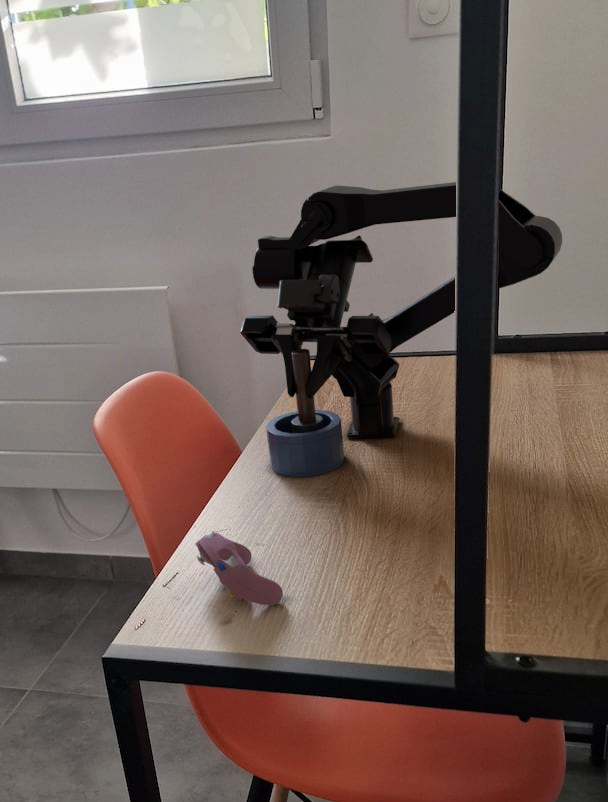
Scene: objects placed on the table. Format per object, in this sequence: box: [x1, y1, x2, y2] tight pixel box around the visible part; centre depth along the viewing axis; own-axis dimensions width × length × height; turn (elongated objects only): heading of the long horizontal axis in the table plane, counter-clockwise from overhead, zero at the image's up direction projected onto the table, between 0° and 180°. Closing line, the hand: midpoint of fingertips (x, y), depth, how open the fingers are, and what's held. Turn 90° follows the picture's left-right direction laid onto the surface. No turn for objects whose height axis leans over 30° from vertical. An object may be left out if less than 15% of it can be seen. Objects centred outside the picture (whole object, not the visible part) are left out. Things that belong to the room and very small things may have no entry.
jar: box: [265, 409, 345, 478], centre depth 106 cm, size 9×9×6 cm
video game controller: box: [195, 530, 284, 606], centre depth 79 cm, size 10×5×7 cm, turn 21°
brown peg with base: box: [292, 348, 324, 433], centre depth 104 cm, size 4×4×12 cm
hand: (299, 396), depth 102 cm, fingers closed on brown peg with base, 2 cm apart
